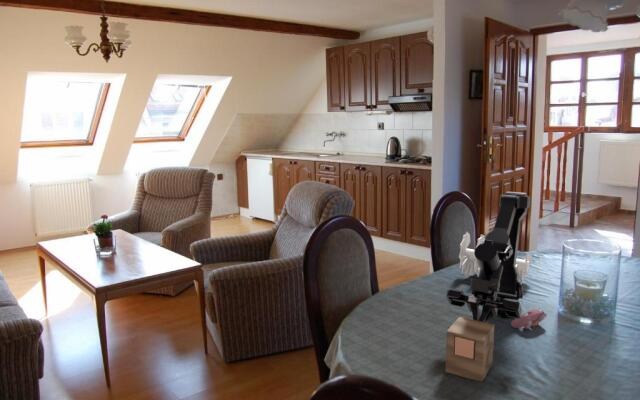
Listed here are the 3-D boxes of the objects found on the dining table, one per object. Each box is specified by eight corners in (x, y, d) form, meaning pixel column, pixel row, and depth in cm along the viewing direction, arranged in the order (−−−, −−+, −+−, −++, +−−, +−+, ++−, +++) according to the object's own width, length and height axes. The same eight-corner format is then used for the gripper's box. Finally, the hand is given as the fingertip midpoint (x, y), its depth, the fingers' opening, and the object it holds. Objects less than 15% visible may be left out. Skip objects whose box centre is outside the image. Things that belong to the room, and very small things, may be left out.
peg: (466, 338, 130) (467, 322, 129) (484, 342, 128) (485, 325, 127) (454, 354, 121) (455, 337, 121) (473, 358, 119) (473, 341, 118)
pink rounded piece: (519, 336, 146) (529, 320, 143) (508, 324, 150) (518, 308, 146) (541, 328, 151) (552, 313, 147) (530, 317, 154) (540, 302, 150)
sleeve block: (457, 355, 132) (459, 316, 130) (492, 364, 127) (494, 324, 125) (445, 371, 124) (446, 331, 122) (481, 381, 119) (483, 339, 117)
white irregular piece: (521, 300, 180) (455, 284, 194) (534, 269, 191) (471, 255, 205) (520, 263, 170) (450, 248, 185) (534, 232, 181) (467, 220, 196)
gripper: (449, 259, 135) (434, 312, 128) (521, 271, 125) (509, 328, 118) (457, 279, 143) (443, 329, 136) (526, 290, 133) (515, 345, 126)
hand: (476, 332), depth 129 cm, fingers closed, pressing on peg
